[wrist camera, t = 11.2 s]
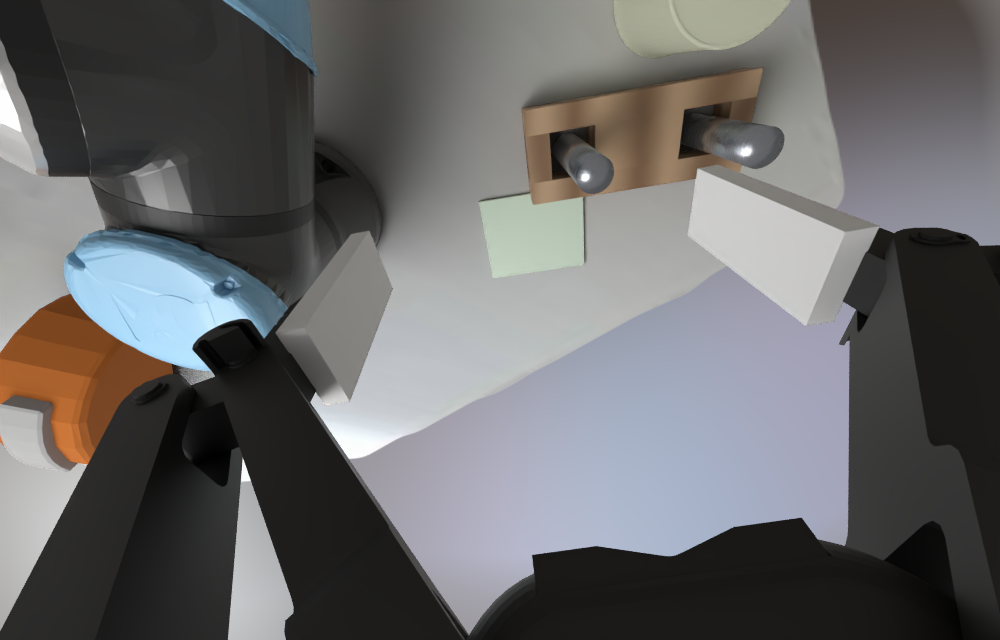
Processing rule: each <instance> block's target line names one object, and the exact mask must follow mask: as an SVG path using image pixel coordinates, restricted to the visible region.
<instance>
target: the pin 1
mask: <svg viewBox="0 0 1000 640" xmlns="http://www.w3.org/2000/svg"><path fill="white" fill-rule="evenodd" d="M554 155H555V157H556V159H557V160H558V161H559V163H560V164H561V165H562V166H563V168H564V169H565V170H566V171H567V173H568V174H569V175H570V176H571V178H572V179H573V180H574V181H575V183H576V184H577V185H578V186H579V188H580V189H581V190H582V191H583V192H585V193H588V194H597V193H600V192H602V191H604V190H605V189H606V188H607V187H608V186H609V185H610V183H611V182H612V179H613V176H614V167H613V164H612V162H611V161H610V159H608V158H607V157H606V156H604V155H603V154H602V153H600V152H599V151H597V150H596V149H594V148H593V147H592V146H590V145H589V144H587V143H586V142H585V141H583V140H582V139H580V138H579V137H577V136H576V135H574V134H571V133H567V134H564V135H562V136H560V137H559V138H558V139H557V141H556V142H555V145H554Z"/></svg>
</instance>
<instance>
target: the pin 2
mask: <svg viewBox="0 0 1000 640" xmlns="http://www.w3.org/2000/svg"><path fill="white" fill-rule="evenodd" d="M680 143H681V144H684V145H687V146H689V147H692V148H695V149H698V150H701V151H704V152H707V153H710V154H712V155H715V156H718V157H721V158H724V159H727V160H730V161H732V162H735V163H738V164H741V165H744V166H747V167H750V168H753V169H758V168H762V167H765V166H767V165H768V164H770V163H771V162H773V161H774V160H775V159H776V158H777V156H778V155H779V154H780V152H781V150H782V148H783V145H784V134H783V132H782V131H781V130H780V129H779V128H777V127H773V126H767V125H762V124H756V123H750V122H745V121H739V120H733V119H728V118H722V117H716V116H711V115H705V114H699V113H692V114H689V115H687V116H686V117H685V118H683V124H682V132H681V140H680Z"/></svg>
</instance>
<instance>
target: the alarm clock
mask: <svg viewBox="0 0 1000 640" xmlns="http://www.w3.org/2000/svg"><path fill="white" fill-rule="evenodd" d="M168 374H173V369H172V364H171V363H168V362H165V361H162V360H159V359H156V358H154V357H152V356H149V355H147V354H145V353H143V352H141V351H139V350H137V349H136V348H134V347H132V346H130V345H128V344H126V343H124V342H122V341H120V340H119V339H117V338H116V337H114V336H113V335H111V334H110V333H108V332H107V331H106V330H104V329H103V328H102V327H100V326H99V325H98V324H97V323H96V322H94V321H93V320H92V319H91V318H90V317H89V316H88V315H87V314H86V313H85V312H84V311H83V310H82V309H81V307H80V306H79V305H78V304H77V302H76V301H75V300H74V298H73V296H72V295H71V294H69V295H66V296H63V297H61V298H59V299H57V300H55V301H53V302H52V303H50V304H48V305H46V306H45V307H43V308H41V309H39V310H38V311H37V312H36V313H35V314H34V315H33V316H32V317H31V318H30V319H29V320H28V321H27V322H26V323H25V324H24V325H23V326H22V327H21V328H20V329H19V330H18V331H17V332H16V333H15V334H14V335H13V336H12V338H11V339H10V340H9V342H8V343H7V344H6V346H5V347H4V348H3V350H2V351H1V352H0V442H1V443H2V444H3V445H4V446H5V449H7V451H8V452H9V453H10V454H11V455H12V456H13V457H14V458H15V459H17V460H18V461H20V462H21V463H24V464H27V465H30V466H33V467H38V468H44V469H51V470H58V471H63V472H67V471H70V470H71V469H72V468H73V467H74V466H75V465H76V464H77V463H82V464H88V463H89V461H90V459H91V457H92V455H93V453H94V451H95V450H96V448H97V446H98V444H99V442H100V440H101V438H102V436H103V434H104V432H105V430H106V429H107V427H108V425H109V423H110V421H111V419H112V417H113V415H114V413H115V411H116V409H117V408H118V406H119V405H120V403H121V402H122V401H123V399H124V398H125V397H127V396H128V395H129V394H130V393H131V392H132V391H133V390H134V389H135V388H137V387H138V386H141V384H143V383H145V382H147V381H151V380H154V379H156V378H158V377H161V376H164V375H168Z"/></svg>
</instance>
